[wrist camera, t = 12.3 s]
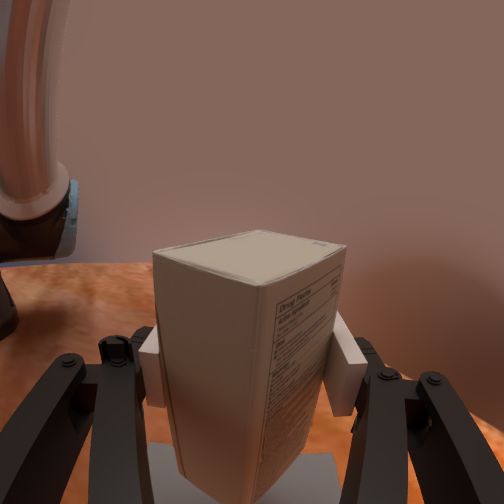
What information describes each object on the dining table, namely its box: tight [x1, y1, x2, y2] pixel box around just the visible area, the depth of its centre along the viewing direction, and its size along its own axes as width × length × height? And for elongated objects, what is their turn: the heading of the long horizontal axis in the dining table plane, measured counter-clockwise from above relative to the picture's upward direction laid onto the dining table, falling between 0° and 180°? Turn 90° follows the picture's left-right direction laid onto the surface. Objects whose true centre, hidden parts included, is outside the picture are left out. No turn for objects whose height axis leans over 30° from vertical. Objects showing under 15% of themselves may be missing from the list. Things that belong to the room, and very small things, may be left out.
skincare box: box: [153, 229, 346, 504], centre depth 11 cm, size 6×4×12 cm
